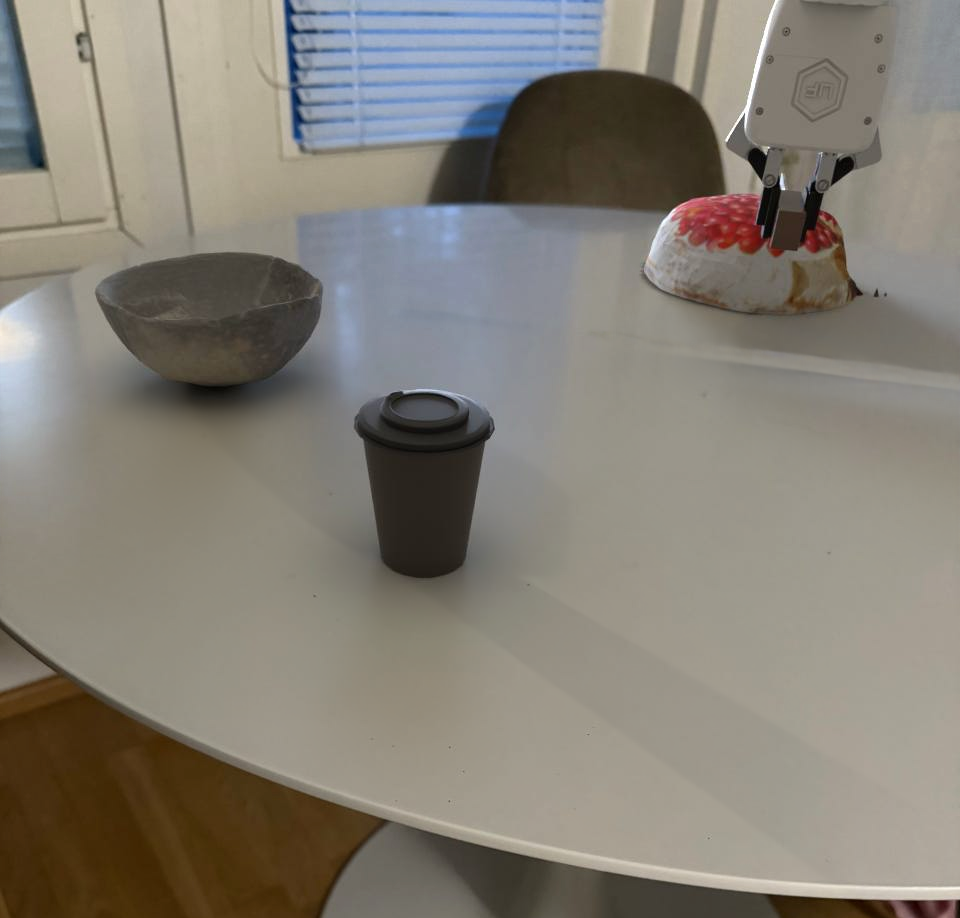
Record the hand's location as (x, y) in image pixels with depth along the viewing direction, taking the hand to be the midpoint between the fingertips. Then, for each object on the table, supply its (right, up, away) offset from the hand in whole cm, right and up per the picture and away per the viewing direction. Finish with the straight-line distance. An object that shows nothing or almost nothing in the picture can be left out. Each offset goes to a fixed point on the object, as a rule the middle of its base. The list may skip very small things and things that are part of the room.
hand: (782, 235), depth 82 cm
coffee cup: (-30, -30, -22) cm, 48 cm away
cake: (+4, +3, +23) cm, 24 cm away
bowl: (-48, -12, -1) cm, 50 cm away
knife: (+1, +2, +3) cm, 4 cm away
